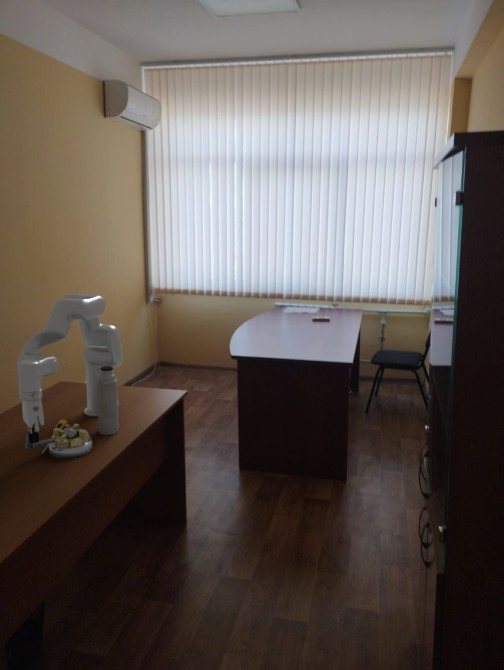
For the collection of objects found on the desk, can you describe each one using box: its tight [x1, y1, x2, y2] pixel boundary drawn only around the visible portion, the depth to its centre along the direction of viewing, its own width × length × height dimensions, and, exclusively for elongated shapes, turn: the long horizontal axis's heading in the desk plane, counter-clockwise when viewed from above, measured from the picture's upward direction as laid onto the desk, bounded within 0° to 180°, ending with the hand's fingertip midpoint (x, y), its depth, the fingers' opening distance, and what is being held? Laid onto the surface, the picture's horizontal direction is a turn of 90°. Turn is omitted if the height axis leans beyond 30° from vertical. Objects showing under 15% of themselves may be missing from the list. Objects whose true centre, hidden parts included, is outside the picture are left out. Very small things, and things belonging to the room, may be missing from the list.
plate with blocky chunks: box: [48, 423, 93, 459], centre depth 208 cm, size 16×18×8 cm
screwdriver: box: [40, 419, 68, 456], centre depth 215 cm, size 3×3×30 cm
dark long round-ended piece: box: [24, 423, 90, 450], centre depth 204 cm, size 23×13×6 cm, turn 128°
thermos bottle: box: [97, 366, 120, 436], centre depth 223 cm, size 8×8×28 cm
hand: (33, 442), depth 195 cm, fingers closed
